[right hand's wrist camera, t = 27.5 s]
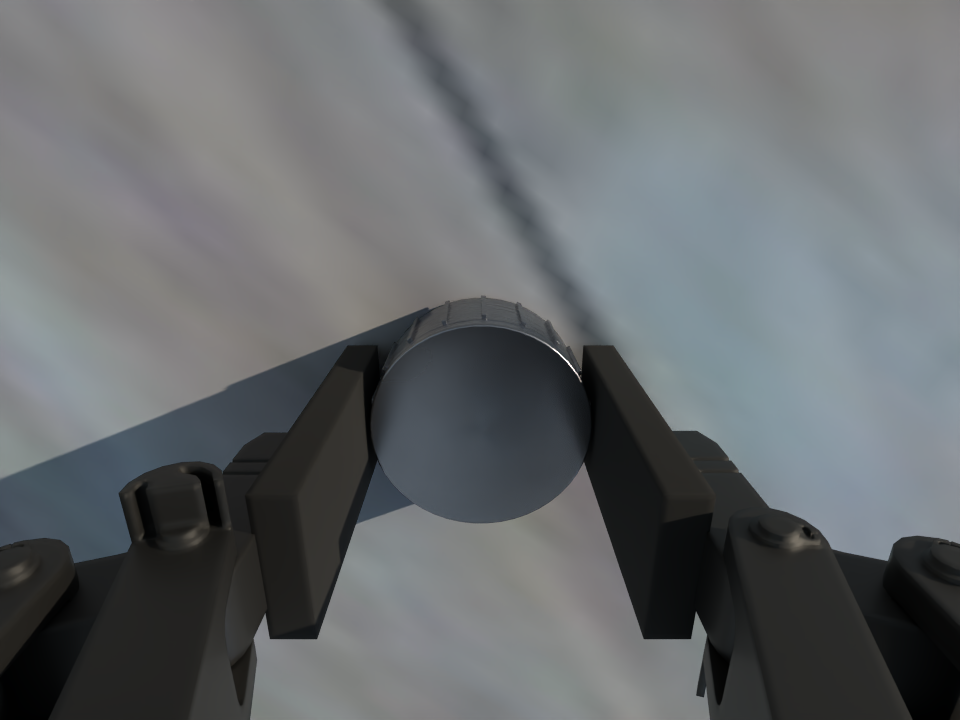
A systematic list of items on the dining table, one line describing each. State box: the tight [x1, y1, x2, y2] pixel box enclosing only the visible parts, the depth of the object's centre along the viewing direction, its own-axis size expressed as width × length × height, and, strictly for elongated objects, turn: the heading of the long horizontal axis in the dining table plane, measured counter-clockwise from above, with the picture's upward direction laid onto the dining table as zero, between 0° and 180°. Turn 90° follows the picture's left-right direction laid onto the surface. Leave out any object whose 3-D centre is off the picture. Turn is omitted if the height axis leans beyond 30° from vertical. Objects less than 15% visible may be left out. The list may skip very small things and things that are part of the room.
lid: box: [370, 296, 592, 523], centre depth 14 cm, size 5×5×2 cm
